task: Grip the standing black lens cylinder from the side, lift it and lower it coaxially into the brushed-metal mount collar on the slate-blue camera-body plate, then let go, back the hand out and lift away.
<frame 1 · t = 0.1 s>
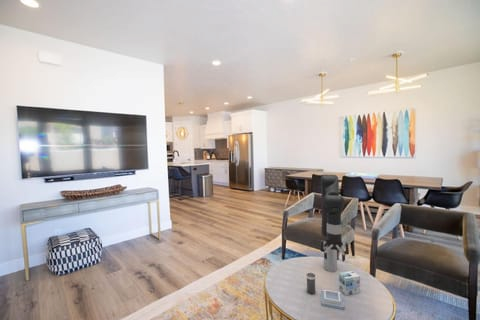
hand: (334, 259, 122), 29 cm above the table, tool pointing down, fingers open, 8 cm apart
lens: (311, 291, 140), on the table
camera body mount: (332, 300, 132), on the table
light bulb box: (349, 291, 140), on the table
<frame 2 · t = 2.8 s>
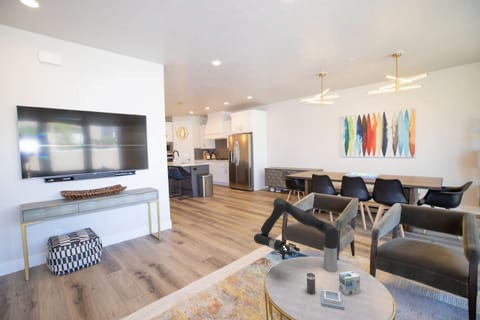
hand: (295, 252, 147), 22 cm above the table, tool horizontal, fingers open, 8 cm apart
nothing on the table moved.
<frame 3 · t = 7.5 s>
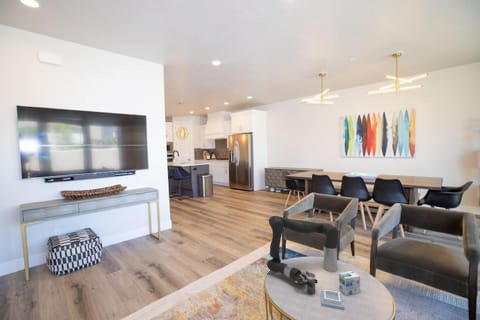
hand: (314, 283, 138), 7 cm above the table, tool horizontal, fingers closed on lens, 5 cm apart
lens: (311, 291, 140), on the table, touching gripper
everything else where it was.
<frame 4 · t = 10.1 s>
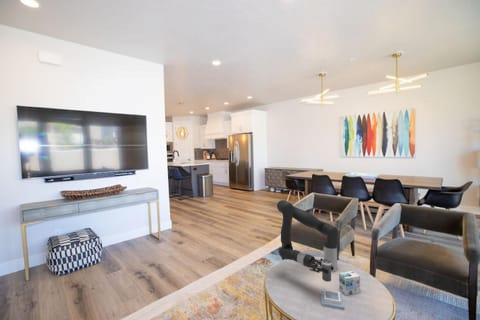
hand: (330, 270, 130), 19 cm above the table, tool horizontal, fingers closed on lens, 5 cm apart
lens: (326, 279, 133), point 12 cm above the table, touching gripper
everything else where it was.
when the fingers open (9 cm above the table, at t = 13.0 s): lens drops 1 cm, resting on camera body mount.
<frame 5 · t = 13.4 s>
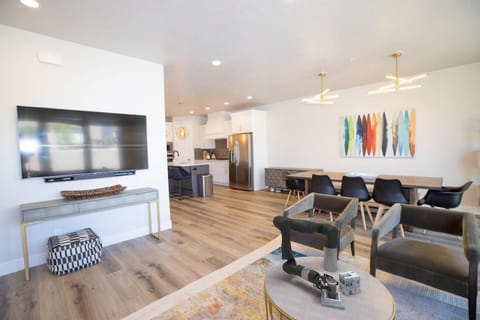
hand: (335, 286, 130), 9 cm above the table, tool horizontal, fingers open, 8 cm apart
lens: (331, 298, 132), point 2 cm above the table, touching camera body mount
everything else where it was.
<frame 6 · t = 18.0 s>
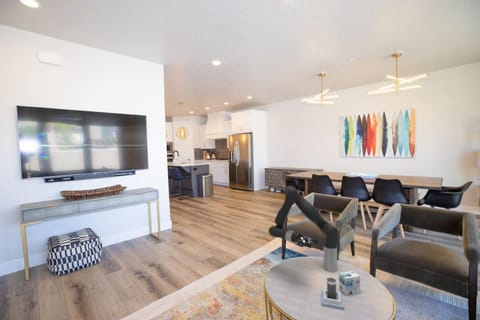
hand: (314, 244, 141), 30 cm above the table, tool horizontal, fingers open, 8 cm apart
nothing on the table moved.
at the end: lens 0.1 cm off-centre on the camera body mount, point 1.6 cm above the camera body mount's base; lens tilted 1°; the gripper is holding nothing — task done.
